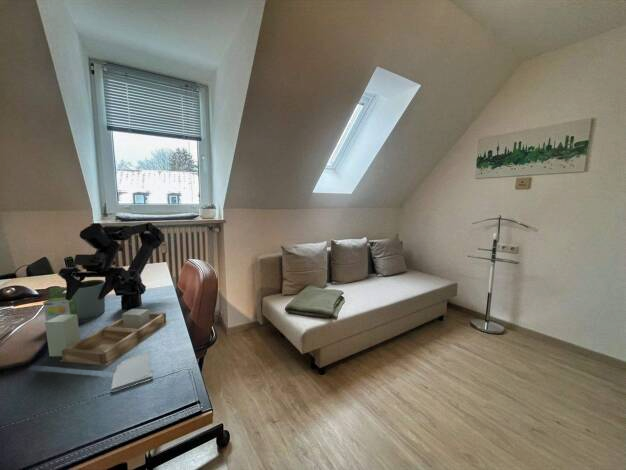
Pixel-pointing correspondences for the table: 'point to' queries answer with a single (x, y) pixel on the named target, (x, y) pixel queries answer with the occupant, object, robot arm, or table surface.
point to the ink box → (59, 304)
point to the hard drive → (132, 371)
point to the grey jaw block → (135, 318)
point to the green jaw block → (62, 333)
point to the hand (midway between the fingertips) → (83, 299)
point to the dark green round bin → (89, 299)
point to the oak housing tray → (111, 341)
